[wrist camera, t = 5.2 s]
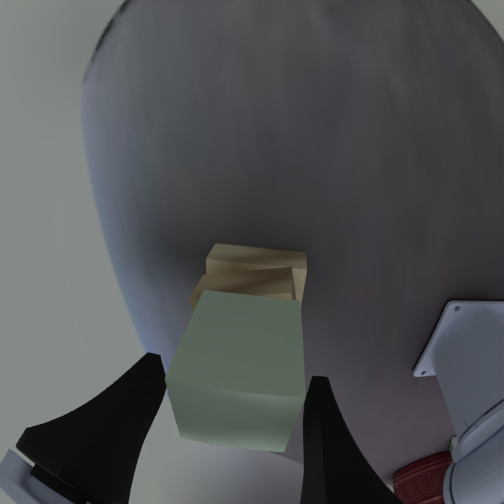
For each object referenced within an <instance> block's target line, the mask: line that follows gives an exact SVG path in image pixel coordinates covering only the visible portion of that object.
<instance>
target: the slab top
mask: <svg viewBox="0 0 504 504" xmlns="http://www.w3.org/2000/svg"><path fill="white" fill-rule="evenodd" d="M203 290H211V291H219V292H227V293H236V294H245V295H254V296H263V297H272V298H282V299H293V300H296V296H295V287H294V279H293V271H292V267H283V268H272V269H262V270H251V271H240V272H228V273H217V274H204V275H203V276H202V277H201V279H200V281H199V283H198V284H197V286H196V288H195V290H194V292H193V293H192V295H191V297H190V299H189V301H190V304H191V307H192V309H193V312H194V310H195V308H196V306H197V303H198V301H199V299H200V297H201V294H202V292H203Z"/></svg>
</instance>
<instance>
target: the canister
mask: <svg viewBox="0 0 504 504" xmlns="http://www.w3.org/2000/svg"><path fill="white" fill-rule="evenodd" d="M452 462H453V460H452V456H451V452H450V451H449V452H444V453H440V454H436V455H433V456H430V457H427V458H425V459H422V460H420V461H417V462H415V463H413V464H411V465H408V466H407V467H405V468H403V469H401V470H399V471H398V472H397V473H396V474H395V475H394V476H393V482H392V484H393V489H394V494H395V495H396V496H397V497H398V498H399V499H400V500H401V501H402V502H403V503H404V504H445V501H444V495H443V483H444V478H445V474H446V471H447V469H448V467H449V466H450V464H451V463H452Z"/></svg>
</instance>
